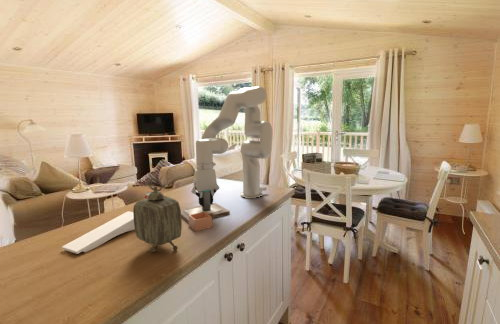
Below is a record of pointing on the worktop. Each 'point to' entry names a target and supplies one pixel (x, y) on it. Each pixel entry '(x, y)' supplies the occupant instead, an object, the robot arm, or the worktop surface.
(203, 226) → the orange square open box
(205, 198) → the marker
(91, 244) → the white wedge
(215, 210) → the writing board
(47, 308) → the worktop surface
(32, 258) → the worktop surface
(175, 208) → the tabletop clock
